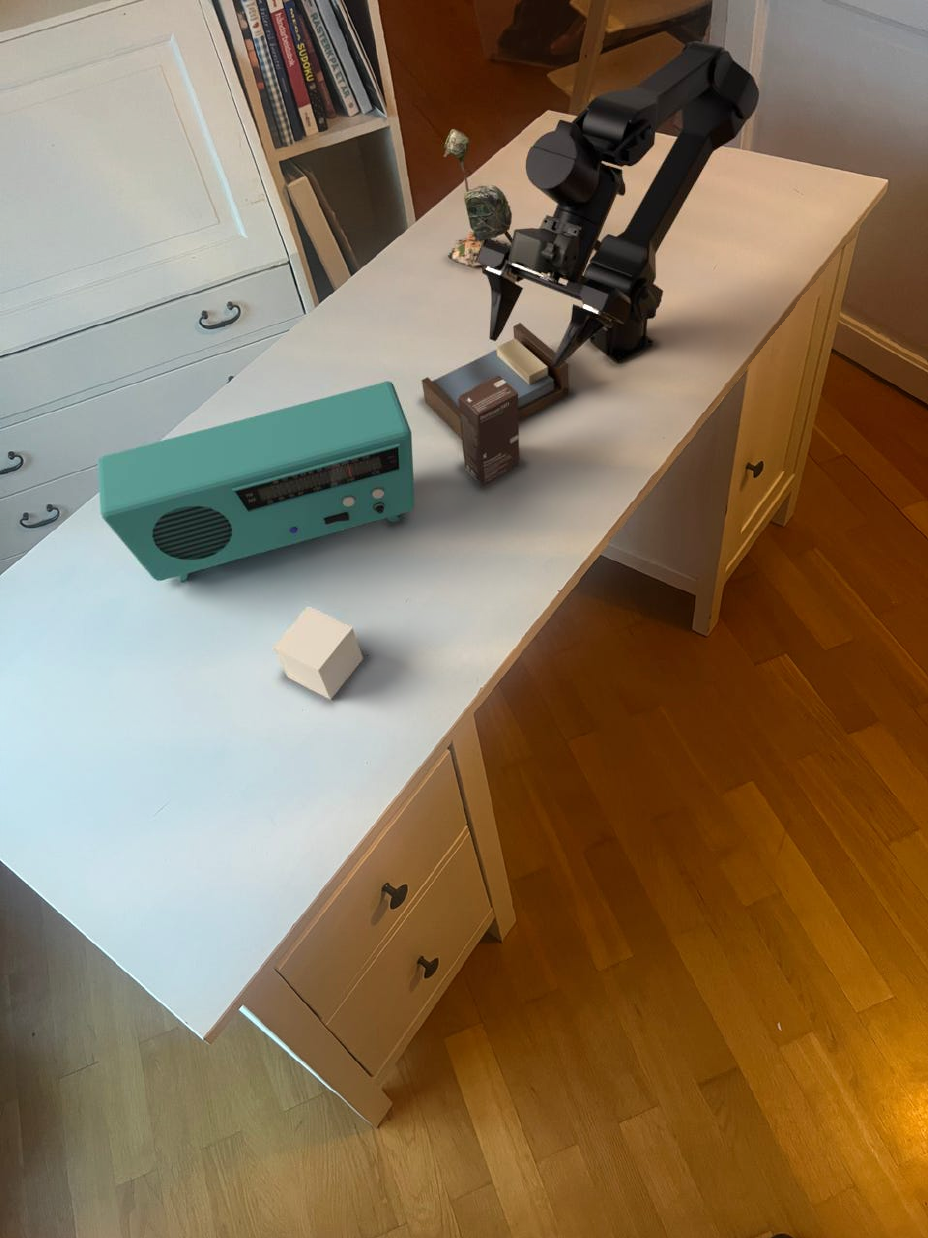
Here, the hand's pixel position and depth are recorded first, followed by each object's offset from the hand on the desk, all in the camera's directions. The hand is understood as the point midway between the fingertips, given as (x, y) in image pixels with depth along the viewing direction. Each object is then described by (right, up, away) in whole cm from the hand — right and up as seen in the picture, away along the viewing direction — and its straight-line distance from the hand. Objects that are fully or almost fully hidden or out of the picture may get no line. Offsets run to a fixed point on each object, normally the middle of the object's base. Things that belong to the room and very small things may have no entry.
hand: (522, 353), depth 104 cm
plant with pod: (-4, +25, +34) cm, 43 cm away
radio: (-29, -21, +4) cm, 36 cm away
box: (-3, -12, +8) cm, 15 cm away
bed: (-3, -2, +15) cm, 15 cm away
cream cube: (-22, -37, -7) cm, 44 cm away
